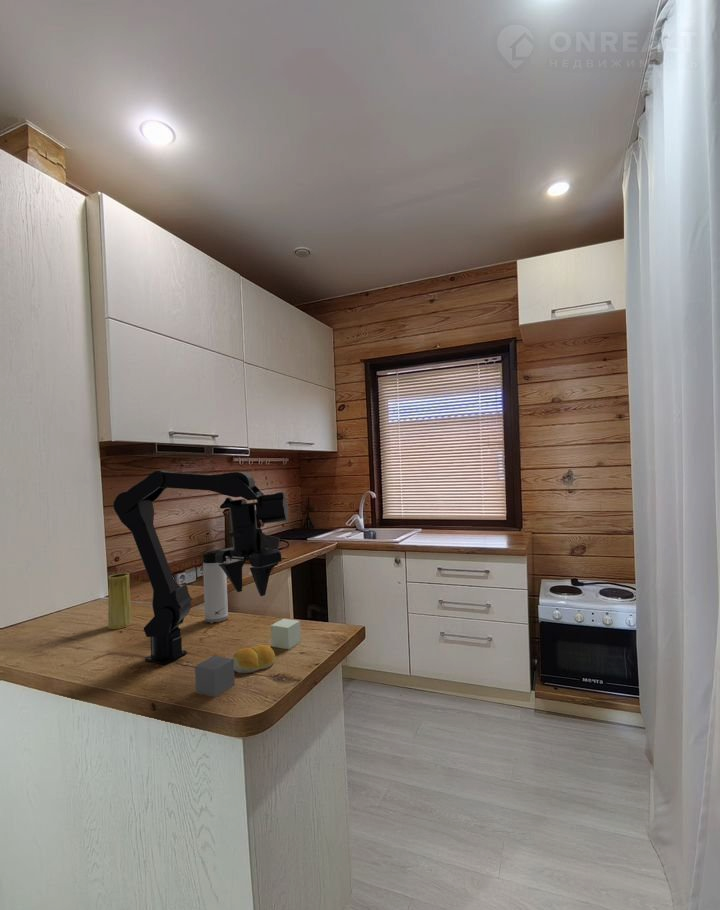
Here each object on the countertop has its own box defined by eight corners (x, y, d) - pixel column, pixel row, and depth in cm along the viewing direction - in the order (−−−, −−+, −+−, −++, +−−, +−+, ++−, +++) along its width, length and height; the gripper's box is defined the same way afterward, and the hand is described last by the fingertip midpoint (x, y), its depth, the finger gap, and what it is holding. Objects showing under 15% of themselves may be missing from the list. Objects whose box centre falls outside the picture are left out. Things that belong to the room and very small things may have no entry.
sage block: (271, 646, 104) (270, 625, 104) (284, 639, 108) (283, 618, 108) (288, 649, 102) (287, 627, 102) (301, 641, 106) (300, 620, 106)
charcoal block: (195, 692, 83) (194, 665, 83) (215, 680, 88) (214, 655, 88) (215, 697, 81) (214, 669, 81) (234, 685, 85) (233, 659, 86)
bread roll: (280, 665, 93) (280, 646, 94) (239, 678, 89) (238, 658, 89) (266, 653, 100) (265, 635, 101) (227, 664, 95) (226, 645, 96)
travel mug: (222, 623, 122) (219, 551, 122) (200, 623, 123) (198, 551, 124) (233, 616, 128) (230, 547, 129) (212, 615, 129) (210, 547, 130)
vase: (136, 623, 125) (135, 573, 126) (115, 631, 120) (113, 578, 121) (125, 620, 129) (123, 571, 129) (103, 627, 123) (102, 576, 124)
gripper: (296, 520, 101) (304, 587, 101) (250, 520, 114) (256, 581, 113) (256, 528, 93) (264, 602, 92) (211, 528, 105) (217, 593, 105)
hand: (250, 593), depth 101 cm, fingers open, 9 cm apart
